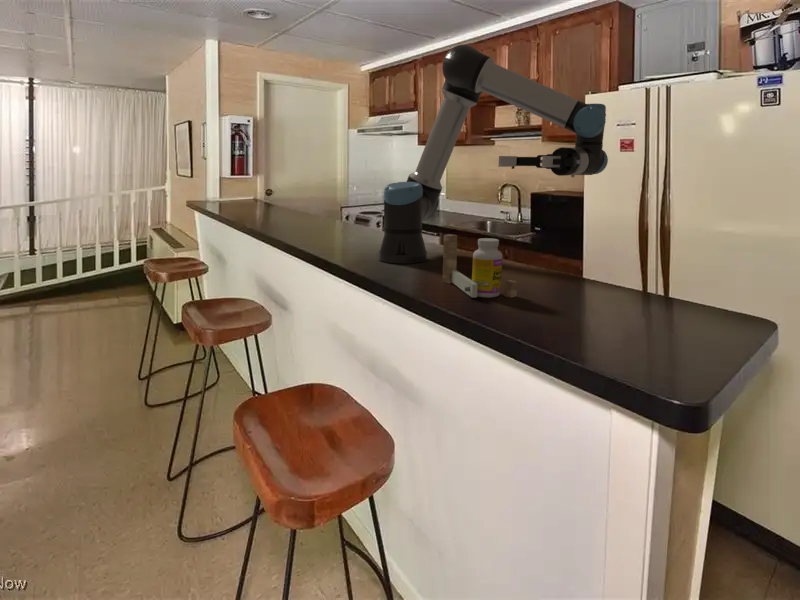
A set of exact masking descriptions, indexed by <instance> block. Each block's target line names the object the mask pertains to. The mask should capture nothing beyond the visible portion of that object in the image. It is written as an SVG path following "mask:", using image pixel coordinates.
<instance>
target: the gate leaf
mask: <svg viewBox="0 0 800 600" xmlns="http://www.w3.org/2000/svg"><path fill="white" fill-rule="evenodd" d="M451 284H453V285H455V286H457V287H458V288H459V289H460V290H461V291H462V292H464V293H465V294H466V295H468V296H469V297H470V298H475V299H476V298H478V296H477V288H478V284H476V283H475V282H473V281H472V279H471V278H469V277H467V276H466V275H465V274H463V273H461V272H460V271H459V270H457V269H456V270H452V283H451Z"/></svg>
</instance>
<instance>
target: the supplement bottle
mask: <svg viewBox="0 0 800 600" xmlns="http://www.w3.org/2000/svg"><path fill="white" fill-rule="evenodd" d="M499 244H500V240H499V239H498V238H493V237H492V238H491V237H490V238H488V237H484V238H482V237H481V238H478V239H477V246H478V249H476V250H474V252H472V253H473V254H472V272H471V280H472V281H473V282H475V283H476V284H478V288H477V298H478V297H480V298H487V299H490V298H497V297H499V296H500V295H501V290H502V289H501V287H502V273H503V272H502V267H503V253H502V252H501V251H500V250H499V249H498V247H499Z"/></svg>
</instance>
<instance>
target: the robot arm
mask: <svg viewBox="0 0 800 600" xmlns="http://www.w3.org/2000/svg"><path fill="white" fill-rule="evenodd" d="M443 58H444V59H443V61H442V74H443V77H444V79H445V81H443V82H444V83H443V85H442V88H441V93H442V95H443V100H442V101H441V104H440V107H439V110H438V112H437V115H436V117H435V119H434V122H433V126H432V128H431V131H430V132H429V135H428V137H427V140H426V143H425V146H424V147H423V151H422V154H421V156H420V159H419V161H418V164H417V167H416V169H415V171H414V172H412V173H409V175H408V176H407V180H406V181H398V182H393V183H388V184H387V185H386V186H385V187H384V190H383V192H384V194H383V218H384V219H383V221H384V223H383V224H384V225H383V228H384V231H383V232H384V233H383V238H382V242H381V245H380V250H379V251H378V261H379V262H380V261H381V262H384V263H387V264H388V263H390V264H416V263H417V264H418V263H423V262H426V261H427V260H428V251H427V250H426V246H425V244H426V243H425V241H424V238H423V222H424V221H426V220H429V219H430V218H431V217H433V215H434V214H435V213H436V212H437V210H438V207H439V203H440V198H439V197H440V195H441V192H442V190H443V185H442V184H441V180H442V178H443V175H444V172H445V171H446V168H447V165H448V163H449V160H450V158H451V156H452V153H453V150H454V148H455V145H456V143H457V141H458V138H459V135H460V134H461V131H462V128H463V126H464V125H465V124H464V123H465V121H466V118H467V116H468V115H469V112H470V109H471V108H473V107H475V106H477V104H478V102H479V100H480V97H481V95H482V93H486V94H488V95H490V96H492V97H494V98H496V99H498V100H501V101H504V102H505V103H508V104H510V105H512V106H515V107H516V108H519V109H521V110H523V111H526V112H528V113H531V114H532V115H534V116H536V117H538V118H542V119H543V120H546V121H548V122H550V123H553V124H555V125H557V126H560V127H562V128H563V129H566V130H568V131H569V132H573V133H575V143H574V147H558V148H556V149H554V151H552V153H547V154H538V155H537V156H517V155H514V156H513V155H499V156H498V167H501V168H502V167H505V168H506V167H508V168H509V167H510V168H511V169H512V170H513V169H515V167H536V168H537V169H545V170H546V169H547V170H551V173H553V174H555V175H556V176H559V177H561V176H563V177H564V176H566V177H567V176H570V177H571V178H575V176H593V175H598V174H600V173H602V172H603V171H604V170H605V169H606V168H607V166H608V163H609V157H608V155H607V153H606V151H605V150H604V149H603V146H604V144H603V143H604V142H603V141H604V133H605V127H606V123H607V121H606V120H607V119H606V117H607V113H606V112H607V109H606V105H605V104H604V103H585V102H582V101H580V100H579V99H576V98H574V97H571V96H570V95H566V93H563V92H560V91H558V90H555V89H553V88H551V87H549V86H547V85H544V84H542V83H539V82H537V81H535V80H533V79H531V78H528V77H526V76H524V75H522V74H519V73H517V72H515V71H512V70H510V69H508V68H505V67H503V66H501V65H499V64H497V63H495V62H494V59H493V58H492V57H490V56H489V55H486V54H484V53H482V52H480V50H478V49H477V48H475V47H474V46H472V45H468V44H459V45H455V46H454V47H452V48H451V49H449V50H448V52H447V53H446V54H445V56H444V57H443Z"/></svg>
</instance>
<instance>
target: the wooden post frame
mask: <svg viewBox="0 0 800 600" xmlns="http://www.w3.org/2000/svg"><path fill="white" fill-rule="evenodd" d="M442 244H443V247H442V250H443V251H442V283H445V284H449V285H450V284H453V283H452V270H457V260H458V259H457V257H458V256H457V255H458V252H457V251H458V235H457V234H450V233H448V234H444V235H443V243H442ZM503 290H504V291H503V297H506V298H510V299H511V298H515V297H517V294H518V292H517V291H518V281H517V280H511V279H509V280H505V281H504V289H503Z"/></svg>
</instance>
